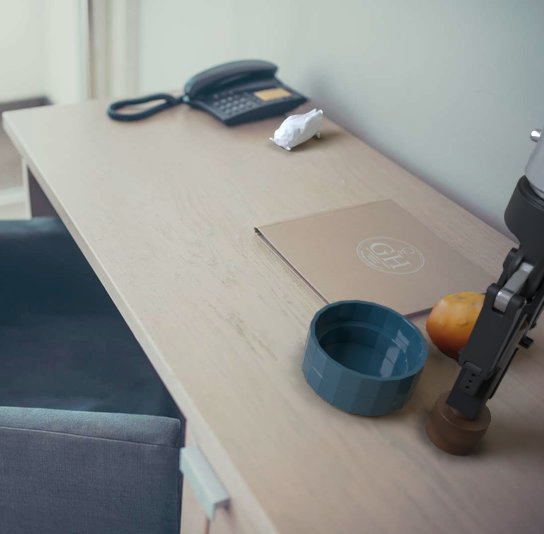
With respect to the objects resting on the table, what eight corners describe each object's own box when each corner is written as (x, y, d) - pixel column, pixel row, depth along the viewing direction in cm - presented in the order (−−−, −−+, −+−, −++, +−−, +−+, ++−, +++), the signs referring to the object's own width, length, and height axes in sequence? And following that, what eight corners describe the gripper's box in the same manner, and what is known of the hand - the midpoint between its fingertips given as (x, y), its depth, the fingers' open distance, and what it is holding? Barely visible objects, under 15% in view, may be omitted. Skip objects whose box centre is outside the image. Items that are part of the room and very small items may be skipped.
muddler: (486, 437, 65) (551, 321, 55) (463, 464, 62) (527, 348, 53) (440, 407, 68) (494, 292, 58) (416, 433, 65) (468, 317, 55)
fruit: (492, 381, 69) (477, 313, 67) (424, 370, 76) (409, 308, 74) (526, 347, 73) (514, 283, 72) (460, 340, 80) (446, 281, 78)
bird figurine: (293, 135, 121) (265, 139, 114) (310, 102, 117) (282, 104, 110) (314, 148, 119) (286, 154, 111) (332, 115, 115) (304, 119, 108)
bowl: (432, 380, 71) (449, 341, 67) (373, 439, 65) (388, 400, 61) (340, 323, 78) (351, 285, 74) (278, 372, 72) (287, 333, 68)
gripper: (564, 139, 54) (470, 340, 68) (476, 206, 45) (390, 419, 60) (666, 174, 50) (543, 380, 64) (590, 255, 41) (467, 472, 55)
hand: (469, 399), depth 62 cm, fingers open, 3 cm apart
